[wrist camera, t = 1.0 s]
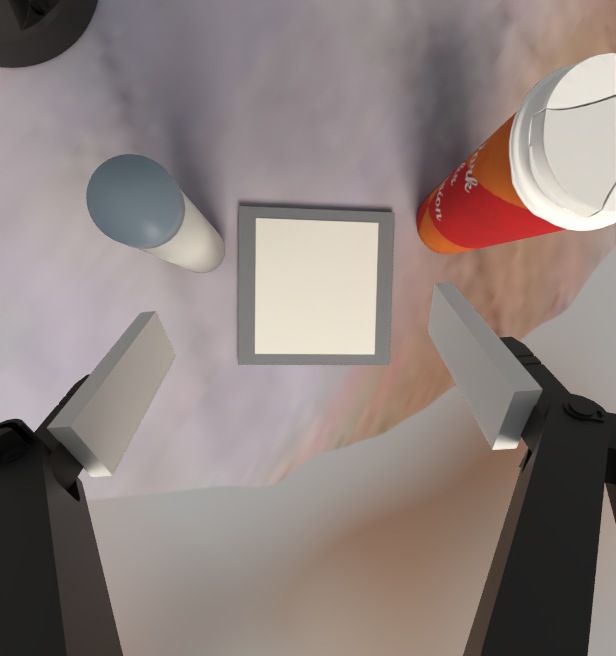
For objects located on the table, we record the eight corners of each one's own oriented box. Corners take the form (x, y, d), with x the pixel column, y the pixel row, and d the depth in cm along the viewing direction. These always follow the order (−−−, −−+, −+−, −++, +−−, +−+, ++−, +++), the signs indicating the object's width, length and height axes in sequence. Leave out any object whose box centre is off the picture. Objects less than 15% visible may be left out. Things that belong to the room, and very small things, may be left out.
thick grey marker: (181, 228, 28) (85, 151, 14) (228, 230, 28) (178, 156, 14) (182, 274, 28) (87, 243, 14) (228, 276, 28) (178, 246, 15)
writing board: (239, 208, 28) (238, 205, 27) (392, 214, 29) (395, 212, 28) (239, 363, 29) (238, 364, 28) (387, 363, 30) (390, 365, 29)
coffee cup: (459, 160, 29) (644, 4, 14) (503, 235, 30) (721, 162, 15) (386, 209, 29) (496, 103, 14) (432, 283, 30) (582, 258, 15)
